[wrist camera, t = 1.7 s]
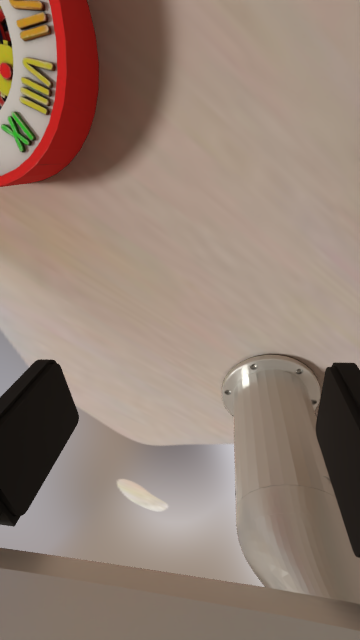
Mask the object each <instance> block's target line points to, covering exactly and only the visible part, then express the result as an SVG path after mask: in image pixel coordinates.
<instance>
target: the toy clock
mask: <svg viewBox="0 0 360 640" xmlns="http://www.w3.org/2000/svg"><path fill="white" fill-rule="evenodd" d="M98 83H99V62H98V53H97V44H96V36H95V31H94V27H93V23H92V19H91V14H90V10H89V6H88V3H87V1H86V0H0V187H3V186H11V185H19V184H27V183H32V182H37V181H41V180H44V179H47V178H49V177H51V176H53V175H55V174H57V173H58V172H59V171H61V170H62V169H63V168H64V167H66V166H67V165H68V164H69V163H70V162H71V161H72V159H73V158H74V157H75V156H76V154H77V153H78V152H79V151H80V149H81V147H82V145H83V143H84V141H85V139H86V137H87V135H88V134H89V130H90V127H91V124H92V121H93V118H94V114H95V109H96V103H97V96H98Z"/></svg>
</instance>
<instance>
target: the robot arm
mask: <svg viewBox="0 0 360 640" xmlns="http://www.w3.org/2000/svg"><path fill="white" fill-rule="evenodd" d="M320 398H321V399H320ZM222 400H223V403H224V406H225V408H226V409H227V411H228V412H229V413H230V414H231V415H232V416H233V417H234V451H235V495H236V526H237V534H238V540H239V543H240V546H241V549H242V552H243V554H244V556H245V558H246V560H247V562H248V564H249V565H250V567H251V568H252V570H253V571H254V573H255V574H256V576H257V577H258V578H259V580H260V581H261V582H262V584H263V585H264V586H265V587H259V586H253V585H246V584H240V583H233V582H227V581H221V580H214V579H207V578H201V577H195V576H188V575H181V574H175V573H168V572H161V571H155V570H149V569H142V568H135V567H128V566H121V565H115V564H108V563H101V562H94V561H88V560H81V559H75V558H68V557H61V556H54V555H47V554H40V553H33V552H26V551H19V550H12V549H5V548H0V640H360V370H359V368H358V367H357V365H356V364H355V363H333V365H332V367H327V368H326V371H325V377H324V383H323V388H322V394H321V389H320V386H319V383H318V380H317V378H316V376H315V375H314V373H313V372H312V371H311V369H309V368H308V367H307V366H306V365H305V364H303V363H301V362H299V361H298V360H296V359H293V358H290V357H286V356H281V355H262V356H256V357H253V358H249V359H247V360H245V361H242V362H240V363H239V364H237V365H236V366H235V367H233V368H232V369H231V370H230V371H229V372H228V374H227V375H226V377H225V379H224V381H223V385H222ZM319 401H320V405H319V410H318V416H317V417H316V414H315V410H316V408H317V406H318V404H319ZM78 419H79V415H78V412H77V409H76V406H75V404H74V401H73V398H72V396H71V393H70V390H69V388H68V385H67V382H66V380H65V377H64V374H63V372H62V369H61V367H60V365H59V364H57V363H56V361H54V360H37V361H35V362H34V363H33V364H32V365H31V366H30V367H29V368H28V370H27V371H25V373H24V374H23V375H22V376H21V377H20V378H19V379H18V380H17V381H16V382H15V383H14V384H13V385H12V386H11V387H10V388H9V389H8V390H7V391H6V392H5V393H4V394H3V395H2V396H1V397H0V524H1V525H8V526H15V525H16V523H17V521H18V519H19V518H20V516H21V515H23V514H25V513H26V511H27V510H28V508H29V506H30V505H31V503H32V501H33V500H34V498H35V496H36V495H37V493H38V491H39V489H40V488H41V486H42V484H43V482H44V481H45V479H46V477H47V476H48V474H49V472H50V470H51V469H52V467H53V465H54V463H55V462H56V460H57V458H58V457H59V455H60V453H61V451H62V450H63V448H64V446H65V444H66V443H67V441H68V439H69V438H70V436H71V434H72V432H73V431H74V429H75V427H76V426H77V423H78Z"/></svg>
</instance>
